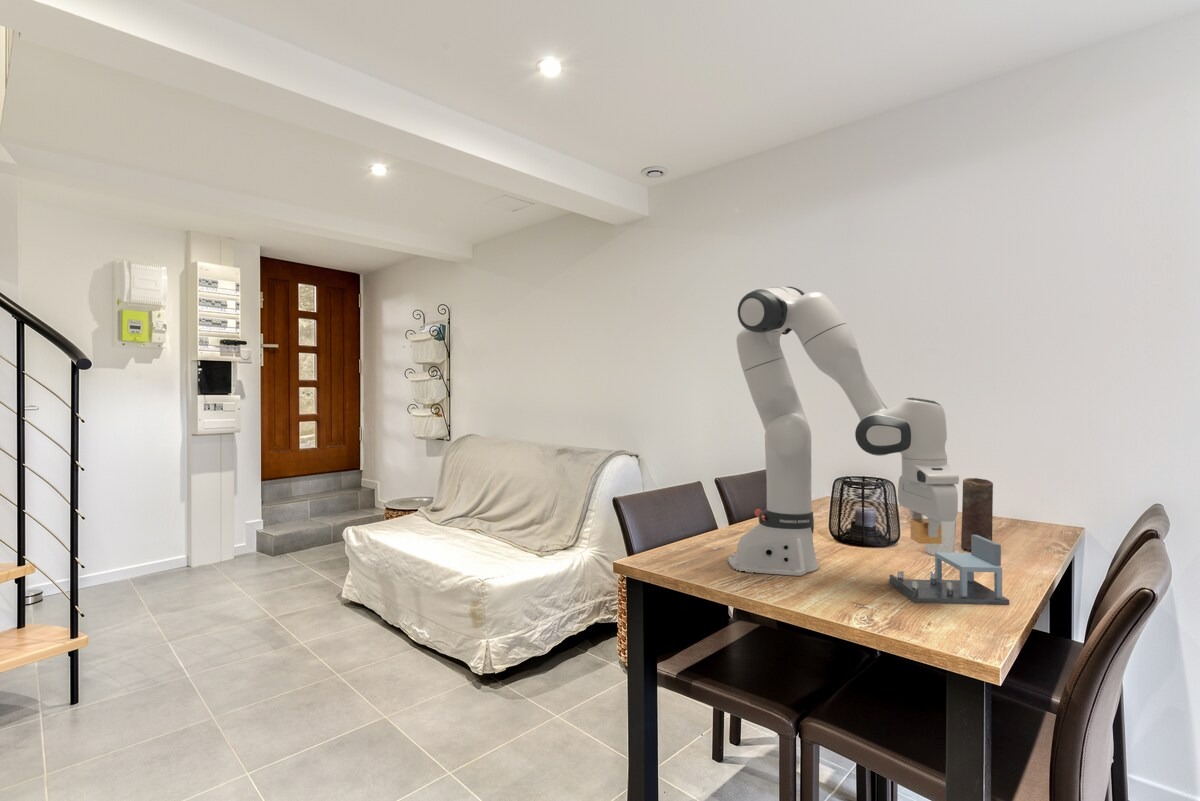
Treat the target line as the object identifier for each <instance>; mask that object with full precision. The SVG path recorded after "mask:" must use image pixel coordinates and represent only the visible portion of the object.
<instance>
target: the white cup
mask: <svg viewBox="0 0 1200 801" xmlns="http://www.w3.org/2000/svg"><path fill="white" fill-rule="evenodd" d="M922 519H928V517H927V516H925V515H922ZM956 530H957V518H956V519H955V521H949V522H943V521H941V538H942V544H925V553H926V554H928V555H930V554H931V555H932V556H935V553H955V545H956V534H957V533H956V532H957V531H956ZM931 555H930V556H931Z"/></svg>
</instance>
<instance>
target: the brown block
mask: <svg viewBox="0 0 1200 801" xmlns="http://www.w3.org/2000/svg"><path fill="white" fill-rule="evenodd" d="M909 519H910V520H909V522H910V540H913V542H916V543H918V544H922V545H923V544H942V538H941V524H940V526H939V528H938V537H937V538H930V537H928V536H927V535H926V528H928V524H929V522H928V519H923V518H922V519H912V518H909Z"/></svg>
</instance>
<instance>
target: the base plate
mask: <svg viewBox="0 0 1200 801" xmlns="http://www.w3.org/2000/svg"><path fill="white" fill-rule="evenodd" d="M929 576H930V579H917V578H916V579H915V578H914V579H913V578H912V579H910V578H907V579H904V572H903V571H901V570H898V571H897V576H895V575H894V574H889V579H888V584H889V583H890V584H889V585H891V586H892V587H893V586H894V587H895V588H894V587H893V588H894V589H895V590H897V591H898V590H899V591H898V592H899V593H901V594H902V593H903V594H902V595H904V596H905V597H906V596H907V597H906V598H908V599H909V600H910V601H911V602H913V603H914V604H953V605H959V604H961V605H962V604H963V605H1000V606H1001V605H1005V606H1006V605H1008V606H1009V605H1010V599H1009V598H1007V597H1005V596H1004V595H1002V597H996V596H994V590H992V589H991V588H989V587H987V586H985V585H983V584H981V583H980V582H978V581H977V580H974V581H968V580H967V596H961V595H960V579H942V581H937V573H936V572H935V571H930V574H929Z"/></svg>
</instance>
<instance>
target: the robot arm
mask: <svg viewBox="0 0 1200 801" xmlns="http://www.w3.org/2000/svg"><path fill="white" fill-rule="evenodd" d="M737 306H738V307H737V318H738V321H739V323H740V324H741V326H742V327H743V329H742V330H740V331H739V332H738V334H737V336H736V347H737V348H736V349H737V352H738V359H739V363H740V365H741V366H740V367H741V370H742V371H743V376H744V378H745V380H746V383H747V386H748V390H749V392H750V395H751V398H752V402H753V403H754V406H755V409H756V411H757V413H758V415H759V418H760V420H761V422H762V426H763V428H764V431H765V432H764V433H765V434H764V450H765V452H764V453H765V454H764V455H765V473H766V474H765V476H766V508H765V509H764V510H761V509H760V508H757V509H755V510H754V515H755V516H756V517H757V518H758V524H757V525H756V526H754V527H752V528H751V529H750V530H748V531H747V532H746V533H744V534H743V535H742V536H741V537H740V538H739V540H738V542H737V547H736V553H731V554H730V555H728V559H727V562H729V563H728V564H730V565H731V566H732V567H733V568H732V567H731V566H730V565H729V566H730V567H731V568H732V569H734V568H735V569H736V570H735V569H734V570H735V571H738V570H739V572H741V571H745V572H744V573H754V572H755V573H757V574H768V575H769V574H771V575H783V576H796V577H797V576H804V575H805V574H807V573H811V572H815V571H817V570H818V569H819V568H820V566H819V563H818V560H817V556H816V551H815V546H814V537H813V536H814V529H815V517H814V516H815V515H814V512H813V511H812V508H813V507H812V432H811V428H810V425H809V423H808V420H807V416H806V413H805V411H804V409H803V406H802V403H801V400H800V397H799V395H798V392H797V389H796V387H795V386H796V385H795V384H794V380H793V378H792V374H791V372H790V369H789V367H788V363H787V360H786V358H785V354H784V353H783V349H782V347H781V343H780V339H781V336H782V335H788V334H790V332H791V331H793V332H794V333H795V335H796V336H797V338H798V340H799V341H800V343H801V346H802V347H803V349H804V351H805V353H806V354H807V355H808V357H809V359H810V361H811V362H813V364H814V365H815V367H816V368H817V369H818V370H819V371H821V372H822V373H824V374H825V375H826V376H828V377H829V378H831V379H832V380H834V381H835V382H836V383H837V384H838V385H839V387H840V388H841V389H842V390H843V392H844V393H845V395H846V396H847V399H848V400H849V402H850V404H851V405H852V408H853V409H854V411H855V412H856V414H857V416H858V418H859V422H858V424H857V426H856V428H855V431H854V434H855V435H854V437H855V441H856V443H857V445H858V446H859V448H860V449H861V450H862V451H864V452H865V453H867V454H870V455H873V456H877V457H878V456H887V455H890V454H895V453H896V454H898V453H899V454H900V455H901V475H900V476H899V478H898V484H897V486H898V488H897V501H898V504H899V506H901V507H903V508H906V509H908V510H910V516H911V519H923V516H927V517H928V522H929V524H928V528H926V535H927V536H928V537H930V538H937V537H938V528H939V526H940V524H941V521H943V522H949V521H955V519H956V520H957V517H958V508H959V504H958V503H959V500H958V498H959V495H958V488H957V486H956V485H959V484H960V476H959V474H958V473H957V472H956V471H955V470H953V468H952V467H951V466H950V465H949V463H948V455H947V453H946V448H945V447H946V442H947V440H948V439H947V438H948V435H947V434H948V432H947V421H946V413H945V411H944V410H945V409H944V408H943V406H942V405H941V404H940V403H938V402H937V401H935V400H930V399H925V398H917V397H907V398H904V399H903V400H902V401H900V402H899V403H897V404H895V405H893V406H892V407H889V408H888V407H887V406H886V405H885V404H884V402H883V401H882V399H881V398H880V396H879V394H878V392H877V390H876V389H875V387H874V386H873V384H872V382H871V380H870V379H869V377H868V375H867V373H866V370H865V368H864V365H863V361H862V358H861V355H860V351H859V348H858V345H857V342H856V339H855V337H854V335H853V333H852V330H851V328H850V327H849V325H848V323H847V321H846V320H845V318H844V316H843V314H842V313H841V312H840V310H839V309H838V308H837V306H836V305H835V304H834V302H833V301H832V300H831V299H830V298H829V297H828V296H827V295H826V294H825V293H823V292H820V291H810V292H807V293H805V292H804V291H803V290H802V289H799V288H797V287H793V286H771V287H768V288H767V287H766V288H763V289H754V290H752V291H750V292H748V293H746V294H745V295H744V296H742V298H741V299H740V301H739V303H738V305H737Z"/></svg>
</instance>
